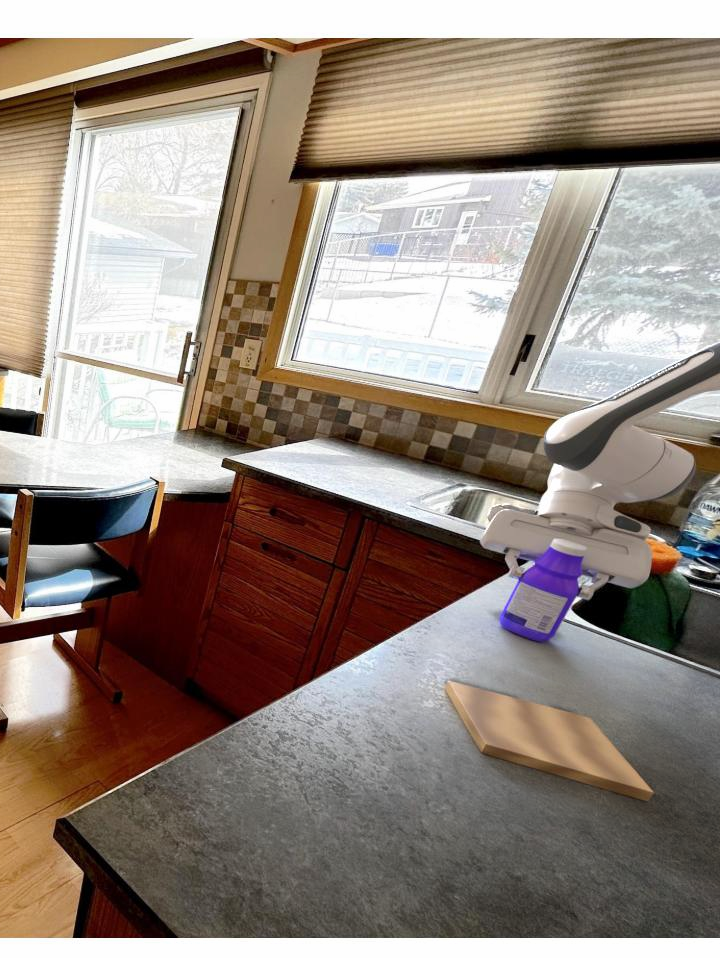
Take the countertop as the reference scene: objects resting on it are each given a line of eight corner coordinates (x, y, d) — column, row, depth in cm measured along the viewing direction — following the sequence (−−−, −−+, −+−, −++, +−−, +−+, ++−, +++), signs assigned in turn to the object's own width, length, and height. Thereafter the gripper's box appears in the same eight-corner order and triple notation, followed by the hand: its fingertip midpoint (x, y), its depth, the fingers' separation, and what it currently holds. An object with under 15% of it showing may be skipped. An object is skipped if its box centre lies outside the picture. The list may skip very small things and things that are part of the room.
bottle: (555, 638, 105) (604, 548, 99) (547, 648, 102) (596, 556, 96) (501, 617, 111) (544, 531, 104) (492, 626, 108) (535, 537, 101)
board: (584, 726, 84) (589, 717, 84) (648, 802, 72) (654, 792, 72) (444, 688, 90) (448, 680, 89) (481, 753, 78) (486, 744, 77)
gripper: (497, 492, 110) (473, 556, 106) (665, 530, 97) (644, 605, 94) (488, 508, 115) (464, 570, 111) (647, 547, 102) (626, 619, 99)
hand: (548, 587), depth 102 cm, fingers closed on bottle, 7 cm apart
